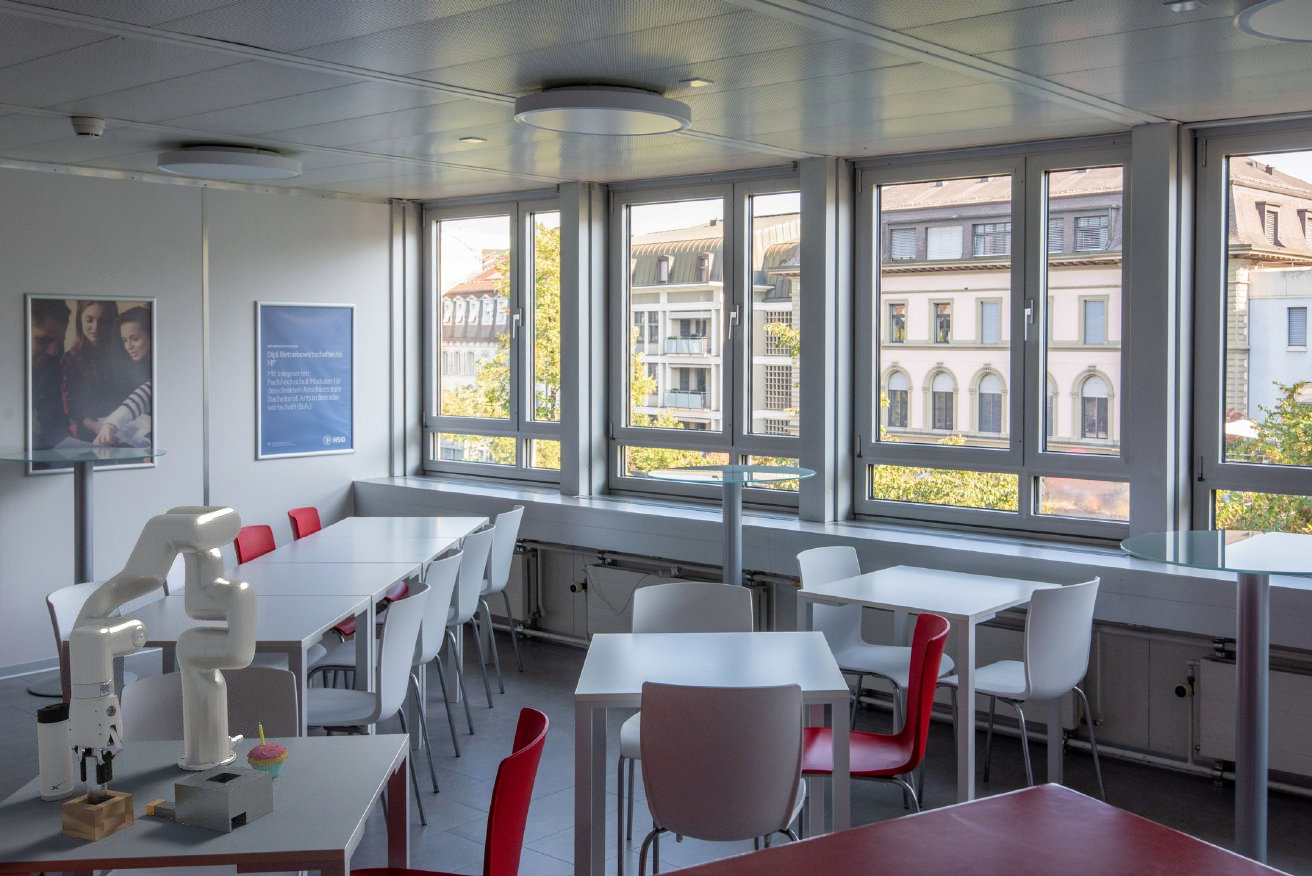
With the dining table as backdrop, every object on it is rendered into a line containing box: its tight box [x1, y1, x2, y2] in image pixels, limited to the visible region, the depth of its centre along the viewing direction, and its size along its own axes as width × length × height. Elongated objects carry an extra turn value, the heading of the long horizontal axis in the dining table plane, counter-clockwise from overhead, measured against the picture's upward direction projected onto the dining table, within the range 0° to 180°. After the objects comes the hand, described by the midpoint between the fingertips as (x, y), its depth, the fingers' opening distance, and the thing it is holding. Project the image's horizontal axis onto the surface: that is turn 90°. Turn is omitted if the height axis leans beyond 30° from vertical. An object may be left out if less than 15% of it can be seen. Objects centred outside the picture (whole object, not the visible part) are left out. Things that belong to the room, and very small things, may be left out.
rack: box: [61, 789, 135, 842], centre depth 221 cm, size 9×9×6 cm
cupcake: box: [246, 721, 289, 779], centre depth 250 cm, size 9×8×12 cm
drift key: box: [146, 798, 176, 820], centre depth 226 cm, size 3×16×2 cm, turn 67°
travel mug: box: [36, 702, 75, 802], centre depth 239 cm, size 6×7×20 cm
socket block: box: [174, 764, 274, 833], centre depth 226 cm, size 12×14×8 cm
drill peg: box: [85, 751, 108, 805], centre depth 220 cm, size 4×4×11 cm
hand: (96, 780), depth 220 cm, fingers closed on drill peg, 3 cm apart
